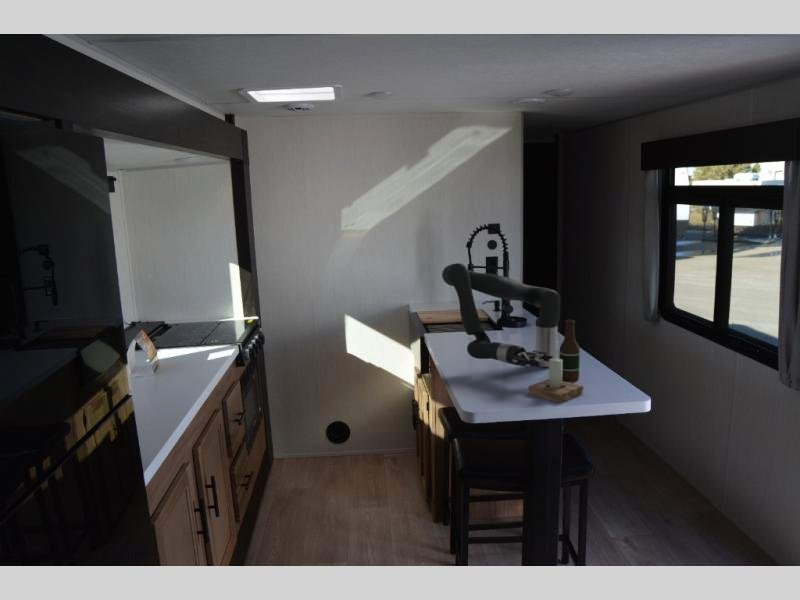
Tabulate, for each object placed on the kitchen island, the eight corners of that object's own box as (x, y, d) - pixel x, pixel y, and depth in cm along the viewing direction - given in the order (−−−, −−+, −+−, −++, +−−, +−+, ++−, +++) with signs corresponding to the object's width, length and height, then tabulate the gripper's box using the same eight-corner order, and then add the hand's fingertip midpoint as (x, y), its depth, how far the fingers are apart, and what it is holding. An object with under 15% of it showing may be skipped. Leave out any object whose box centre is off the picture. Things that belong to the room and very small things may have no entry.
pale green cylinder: (553, 391, 230) (554, 357, 228) (564, 393, 226) (565, 359, 224) (545, 393, 227) (546, 360, 224) (556, 396, 223) (557, 362, 221)
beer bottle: (580, 382, 239) (581, 322, 235) (559, 381, 241) (560, 322, 237) (578, 376, 247) (579, 318, 243) (558, 376, 248) (559, 318, 244)
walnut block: (551, 385, 236) (551, 378, 236) (582, 393, 226) (583, 386, 225) (528, 394, 227) (528, 386, 227) (560, 402, 217) (560, 394, 216)
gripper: (499, 348, 235) (534, 355, 223) (522, 341, 244) (557, 348, 232) (499, 367, 236) (534, 375, 224) (522, 359, 246) (556, 367, 233)
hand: (545, 361), depth 228 cm, fingers open, 8 cm apart
